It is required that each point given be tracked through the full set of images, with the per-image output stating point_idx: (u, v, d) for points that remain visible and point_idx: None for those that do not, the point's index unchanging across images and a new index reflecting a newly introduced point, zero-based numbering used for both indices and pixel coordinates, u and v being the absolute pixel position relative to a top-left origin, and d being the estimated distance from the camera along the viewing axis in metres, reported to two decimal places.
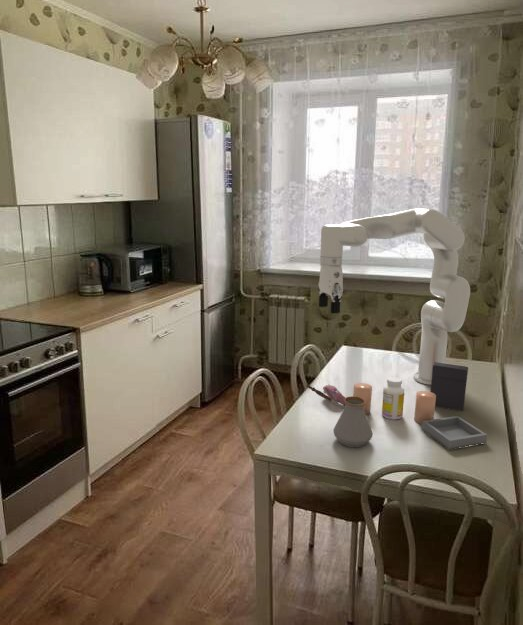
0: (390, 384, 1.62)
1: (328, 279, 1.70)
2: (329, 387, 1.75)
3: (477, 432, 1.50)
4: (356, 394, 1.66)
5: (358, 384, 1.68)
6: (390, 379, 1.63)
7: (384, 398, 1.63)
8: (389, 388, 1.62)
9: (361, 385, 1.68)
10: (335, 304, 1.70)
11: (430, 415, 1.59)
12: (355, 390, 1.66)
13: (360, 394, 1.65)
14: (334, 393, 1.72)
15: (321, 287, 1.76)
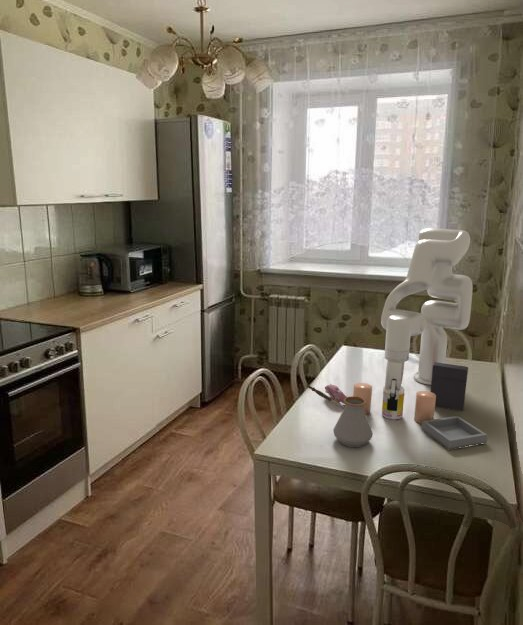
0: None
1: None
2: (331, 387, 1.75)
3: (477, 432, 1.50)
4: (356, 394, 1.65)
5: (358, 384, 1.68)
6: None
7: (384, 398, 1.63)
8: None
9: (361, 385, 1.67)
10: None
11: (430, 415, 1.59)
12: (355, 390, 1.66)
13: (360, 394, 1.65)
14: (336, 393, 1.72)
15: None
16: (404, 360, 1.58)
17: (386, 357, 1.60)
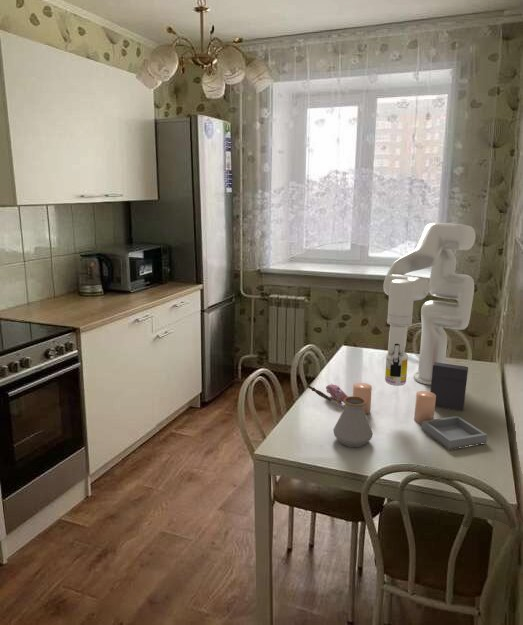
0: None
1: None
2: (332, 386, 1.76)
3: (477, 432, 1.50)
4: (356, 394, 1.65)
5: (357, 384, 1.68)
6: None
7: (387, 364, 1.61)
8: None
9: (361, 385, 1.67)
10: None
11: (430, 415, 1.59)
12: (355, 390, 1.66)
13: (360, 394, 1.65)
14: (337, 392, 1.73)
15: (404, 350, 1.58)
16: (407, 325, 1.55)
17: (389, 322, 1.57)
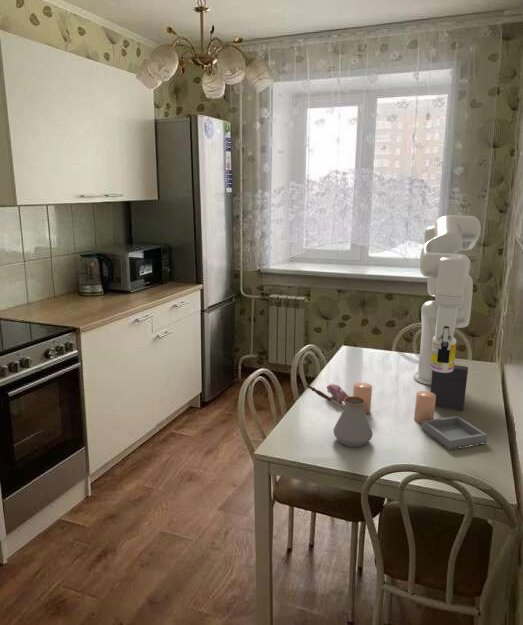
0: None
1: None
2: (333, 386, 1.76)
3: (477, 432, 1.50)
4: (357, 394, 1.66)
5: (358, 384, 1.69)
6: None
7: (434, 349, 1.49)
8: None
9: (361, 385, 1.68)
10: None
11: (430, 415, 1.59)
12: (355, 390, 1.66)
13: (360, 393, 1.65)
14: (338, 392, 1.73)
15: None
16: (458, 306, 1.43)
17: (438, 303, 1.45)
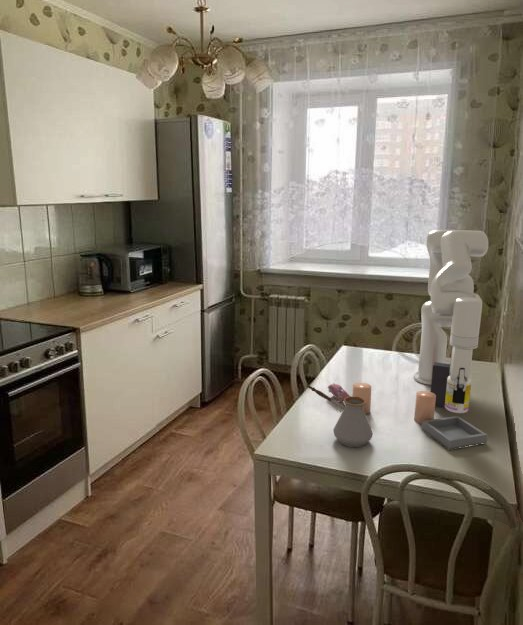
0: None
1: None
2: (334, 386, 1.76)
3: (477, 432, 1.50)
4: (356, 395, 1.65)
5: (357, 384, 1.68)
6: None
7: (448, 389, 1.48)
8: None
9: (360, 385, 1.67)
10: None
11: (430, 415, 1.59)
12: (355, 391, 1.65)
13: (360, 394, 1.64)
14: (339, 392, 1.73)
15: None
16: (473, 347, 1.42)
17: (453, 344, 1.44)
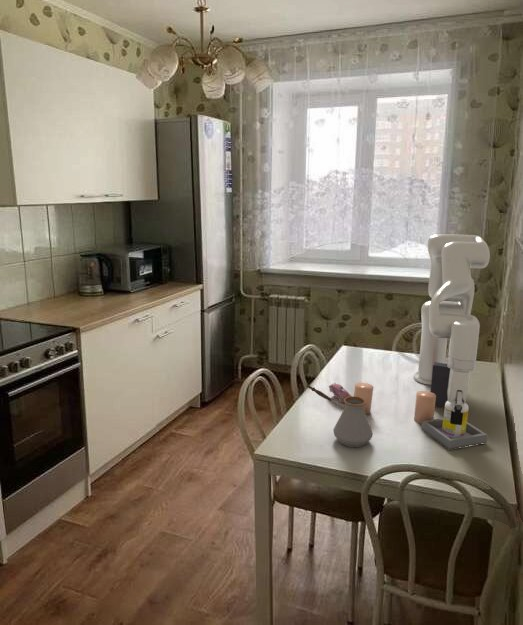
0: None
1: None
2: (335, 386, 1.76)
3: (477, 432, 1.50)
4: (359, 394, 1.65)
5: (358, 384, 1.68)
6: None
7: (446, 415, 1.50)
8: (452, 404, 1.48)
9: (362, 385, 1.67)
10: None
11: (430, 415, 1.59)
12: (358, 390, 1.65)
13: (363, 394, 1.64)
14: (340, 391, 1.73)
15: None
16: (471, 370, 1.44)
17: (451, 367, 1.46)
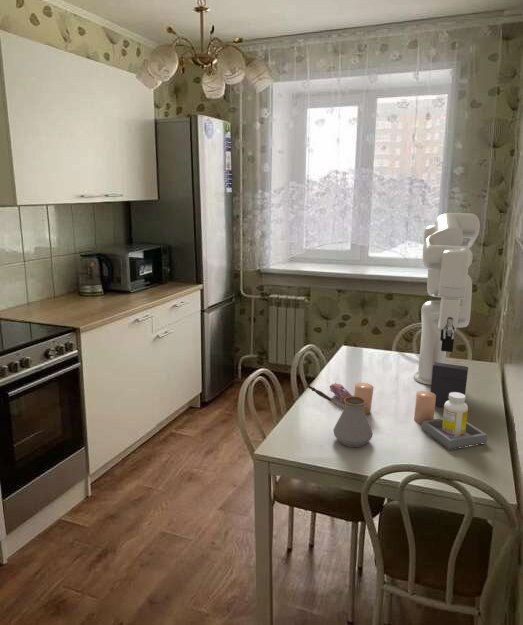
0: (453, 400, 1.48)
1: None
2: (336, 385, 1.76)
3: (477, 432, 1.50)
4: (360, 395, 1.65)
5: (358, 384, 1.68)
6: (452, 395, 1.49)
7: (446, 415, 1.50)
8: (451, 404, 1.49)
9: (362, 385, 1.67)
10: None
11: (430, 415, 1.59)
12: (359, 391, 1.65)
13: (364, 394, 1.64)
14: (341, 391, 1.73)
15: None
16: (461, 297, 1.46)
17: (441, 295, 1.48)
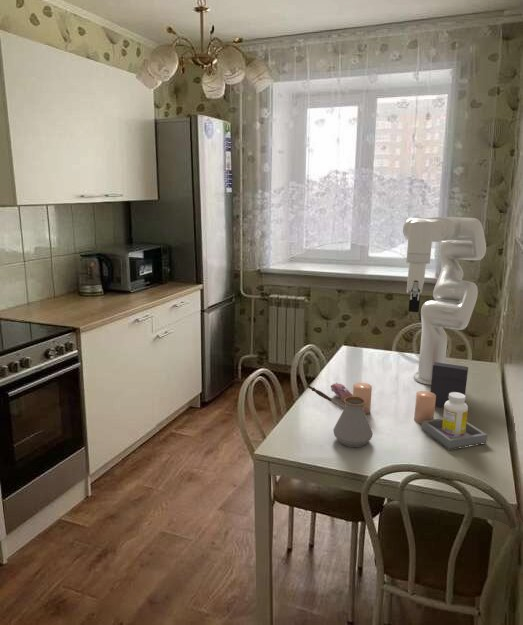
0: (453, 400, 1.48)
1: None
2: (337, 385, 1.77)
3: (477, 432, 1.50)
4: (360, 396, 1.64)
5: (356, 385, 1.67)
6: (452, 395, 1.49)
7: (446, 415, 1.50)
8: (451, 404, 1.49)
9: (360, 385, 1.67)
10: None
11: (430, 415, 1.59)
12: (358, 392, 1.64)
13: (364, 395, 1.64)
14: (342, 391, 1.74)
15: (422, 288, 1.66)
16: (426, 262, 1.64)
17: (408, 261, 1.66)
